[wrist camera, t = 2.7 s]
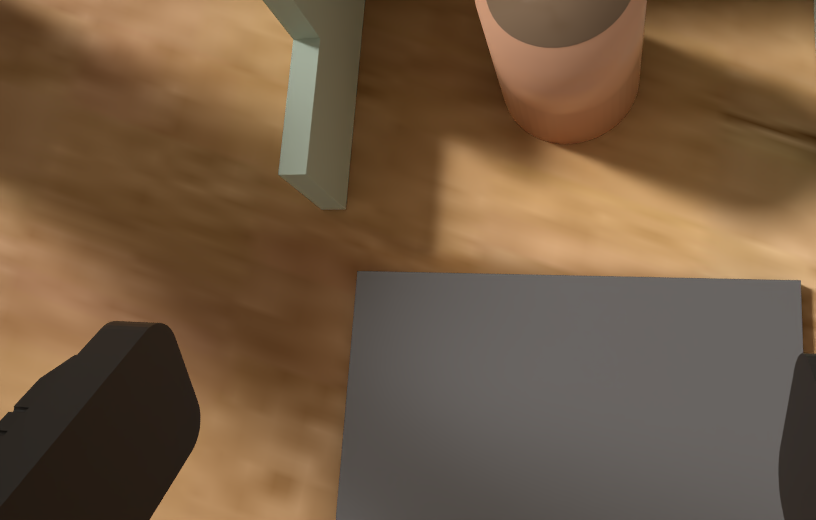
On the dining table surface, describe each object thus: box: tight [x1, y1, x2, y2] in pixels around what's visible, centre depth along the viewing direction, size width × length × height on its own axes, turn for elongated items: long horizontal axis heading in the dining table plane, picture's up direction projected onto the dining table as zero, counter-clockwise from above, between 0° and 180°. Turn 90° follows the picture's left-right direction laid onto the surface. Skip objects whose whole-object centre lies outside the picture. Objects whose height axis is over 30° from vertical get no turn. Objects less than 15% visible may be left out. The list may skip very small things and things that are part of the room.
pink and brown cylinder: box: [475, 0, 647, 144], centre depth 30 cm, size 6×6×8 cm
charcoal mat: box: [336, 271, 803, 520], centre depth 31 cm, size 18×12×1 cm, turn 86°
